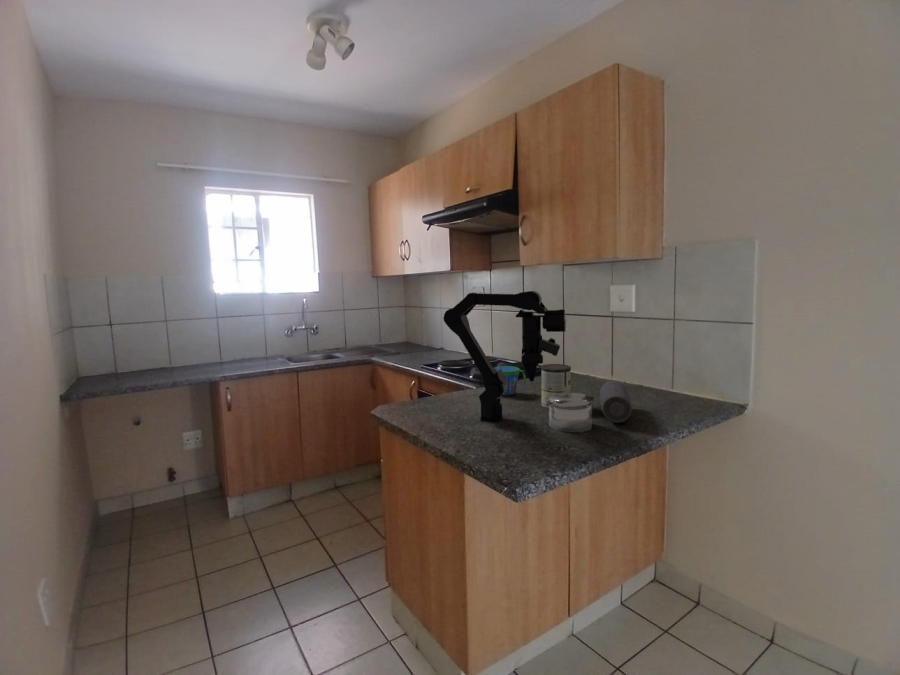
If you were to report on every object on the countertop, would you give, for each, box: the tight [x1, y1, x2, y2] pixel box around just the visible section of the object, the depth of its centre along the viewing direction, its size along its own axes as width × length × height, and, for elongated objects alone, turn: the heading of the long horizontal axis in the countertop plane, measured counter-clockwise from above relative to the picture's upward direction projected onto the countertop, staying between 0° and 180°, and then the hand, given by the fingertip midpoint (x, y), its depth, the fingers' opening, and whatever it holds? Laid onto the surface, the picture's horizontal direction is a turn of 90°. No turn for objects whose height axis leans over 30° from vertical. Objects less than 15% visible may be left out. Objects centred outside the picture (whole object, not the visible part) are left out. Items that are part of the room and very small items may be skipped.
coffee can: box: [540, 363, 572, 409], centre depth 157 cm, size 10×10×14 cm
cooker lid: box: [546, 390, 594, 408], centre depth 134 cm, size 14×13×2 cm
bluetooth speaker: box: [599, 379, 633, 423], centre depth 144 cm, size 23×9×10 cm, turn 163°
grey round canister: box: [548, 403, 593, 433], centre depth 135 cm, size 13×13×7 cm
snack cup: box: [493, 365, 527, 396], centre depth 175 cm, size 16×10×10 cm
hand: (531, 381), depth 138 cm, fingers closed
